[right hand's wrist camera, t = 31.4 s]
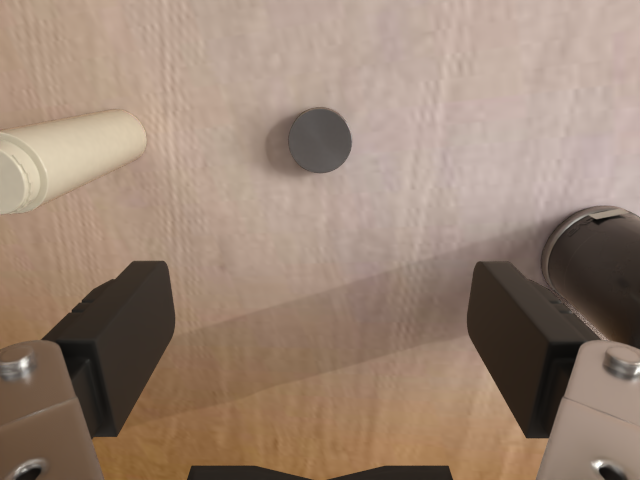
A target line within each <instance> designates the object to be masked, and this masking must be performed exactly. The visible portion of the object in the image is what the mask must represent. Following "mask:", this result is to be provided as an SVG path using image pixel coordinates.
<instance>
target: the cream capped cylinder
mask: <svg viewBox="0 0 640 480" xmlns="http://www.w3.org/2000/svg"><path fill="white" fill-rule="evenodd" d="M146 142H147V139H146V133H145V130H144V128H143V126H142V124H141V123H140V122H139V120H138V119H137V118H136V117H135V116H133V115H132V114H130V113H129V112H126V111H124V110H120V109H110V110H105V111H100V112H94V113H89V114H83V115H78V116H72V117H67V118H62V119H56V120H51V121H45V122H40V123H35V124H29V125H24V126H18V127H13V128H7V129H2V130H0V215H3V214H13V213H25V212H29V211H32V210H34V209H36V208H38V207H40V206H42V205H44V204H46V203H48V202H50V201H52V200H55V199H57V198H59V197H61V196H63V195H65V194H67V193H69V192H71V191H73V190H75V189H77V188H79V187H81V186H83V185H85V184H88V183H90V182H92V181H94V180H96V179H98V178H100V177H102V176H104V175H106V174H108V173H110V172H112V171H114V170H116V169H119V168H121V167H123V166H125V165H127V164H129V163H131V162H133V161H135V160H137V159H138V158H139V157H140V156H141V155H142V154H143V152H144V150H145V148H146Z"/></svg>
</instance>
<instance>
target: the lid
mask: <svg viewBox="0 0 640 480" xmlns="http://www.w3.org/2000/svg"><path fill="white" fill-rule="evenodd" d="M351 147H352V135H351V131H350V128H349V126H348V124H347V123H346V121H345V119H344V118H343V117H342V116H341V115H340V114H339V113H337V112H336V111H334V110H332V109H329V108H324V107H317V108H312V109H309V110H307V111H305V112H303V113H302V114H301V115H300V116H299V117H298V118H297V119H296V120H295V122H294V123H293V125H292V128H291V130H290V133H289V149H290V152H291V154H292V156H293V158H294V160H295V161H296V162H297V163H298V164H299V165H300V166H301V167H302V168H304V169H306V170H308V171H310V172H314V173H326V172H330V171H333V170H335V169H337V168H338V167H339V166H341V165H342V164H343V163H344V162H345V160H346V159H347V157H348V156H349V153H350V151H351Z"/></svg>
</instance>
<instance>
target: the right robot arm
mask: <svg viewBox="0 0 640 480" xmlns="http://www.w3.org/2000/svg"><path fill="white" fill-rule="evenodd" d="M541 265H542V272H543V275H544V278H545V280H546V282H547V283H548V284H549V286H550V287H551V288H552V289H553V290H554V291H555V292H556V293H558V294H559V295H560V296H561V297H563V298H564V299H566V300H567V301H568V302H569V303H570V304H571V305H572V306H573V307H574V308H575V309H576V310H577V311H578V312H579V313H580V314H581V315H583V316H584V317H585V318H586V319H587V320H588V321H589V322H590V323H591V324H592V325H593V326H594V327H595V328H597V329H598V330H599V331H600V332H601V333H602V334H603V335H604V336H605V337H606V338H607V339H608V340H609V341H607V340H601V339H600V338H599V337H598V336H597V335H596V334H595V333H594V332H593V331H592V330H591V329H590V328H589V327H588V326H587V325H586V324H584V323H583V322H582V321H581V320H580V319H579V318H578V317H577V316H576V315H575V314H572V313H571V310H570V309H569V308H568V307H567V306H566V305H565V304H561V301H560V300H559V299H558V298H557V297H556V296H555V295H554V294H553V293H552V292H551V291H550V290H549V289H547V288H545V287H543V286H541V285H539V284H537V283H535V282H534V281H532V280H527V279H526V278H525V277H524V276H523V275H522V274H521V273H520V272H519V271H518V270H517V269H516V268H515V267H514V266H513V265H512V264H511V263H510V262H478V263H477V264H476V265H475V268H474V272H473V279H472V286H471V292H470V299H469V306H468V313H467V327H468V333H469V336H470V339H471V341H472V342H473V344H474V346H475V348H476V349H477V351H478V353H479V355H480V357H481V358H482V360H483V362H484V364H485V365H486V367H487V369H488V371H489V373H490V374H491V376H492V378H493V380H494V381H495V383H496V385H497V387H498V389H499V390H500V392H501V394H502V396H503V397H504V399H505V401H506V403H507V405H508V406H509V408H510V410H511V412H512V413H513V415H514V417H515V419H516V421H517V422H518V424H519V426H520V428H521V430H522V431H523V433H524V435H525V437H526V438H549V440H548V443H547V446H546V449H545V452H544V455H543V458H542V461H541V465H540V468H539V471H538V474H537V477H536V480H640V217H639V216H637V215H636V214H634V213H631V212H629V211H627V210H625V209H622V208H619V207H615V206H597V207H592V208H588V209H585V210H582V211H580V212H578V213H576V214H574V215H572V216H571V217H569V218H568V219H566V220H565V221H564V222H562V223H561V224H560V225H559V226H558V227H557V228H556V229H555V231H554V232H553V233H552V234H551V236H550V237H549V239H548V241H547V243H546V245H545V247H544V250H543V254H542V262H541ZM174 328H175V310H174V304H173V297H172V290H171V283H170V276H169V270H168V266H167V264H166V263H165V262H164V261H133V262H132V263H131V264H130V265H129V266H128V267H127V268H126V269H125V270H124V271H123V272H122V273H121V274H120V275H119V276H118V277H117V278H116V279H112V280H110V281H108V282H106V283H104V284H102V285H100V286H98V287H97V288H95V289H93V290H92V291H91V292H90V293H89V294H88V295H87V296H86V297H85V298H84V299H83V300H82V303H79V304H78V305H77V306H76V307H75V308H73V309H72V313H68V314H67V315H66V316H65V317H64V318H63V319H62V320H61V321H60V322H59V323H58V324H57V325H56V326H55V327H54V328H53V329H52V330H51V331H50V332H49V333H48V334H47V335H45V336H44V337H43V338H42V339H41V340H33V341H26V342H21V343H17V344H14V345H11V346H8V347H5V348H3V349H0V480H104V477H103V474H102V471H101V468H100V465H99V461H98V458H97V455H96V452H95V449H94V446H93V443H92V439H93V437H117V436H118V434H119V432H120V430H121V429H122V427H123V425H124V423H125V421H126V419H127V418H128V416H129V414H130V412H131V410H132V409H133V407H134V405H135V403H136V401H137V400H138V398H139V396H140V394H141V392H142V391H143V389H144V387H145V385H146V383H147V382H148V380H149V378H150V376H151V374H152V373H153V371H154V369H155V367H156V365H157V364H158V362H159V360H160V358H161V356H162V355H163V353H164V351H165V349H166V347H167V346H168V344H169V342H170V340H171V338H172V336H173V333H174ZM187 480H312V479H308V478H304V477H299V476H295V475H291V474H287V473H283V472H279V471H274V470H270V469H266V468H262V467H258V466H191V469H190V472H189V475H188V478H187ZM328 480H453V478H452V475H451V472H450V469H449V466H382V467H378V468H374V469H370V470H366V471H361V472H357V473H353V474H349V475H345V476H341V477H336V478H332V479H328Z"/></svg>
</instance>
